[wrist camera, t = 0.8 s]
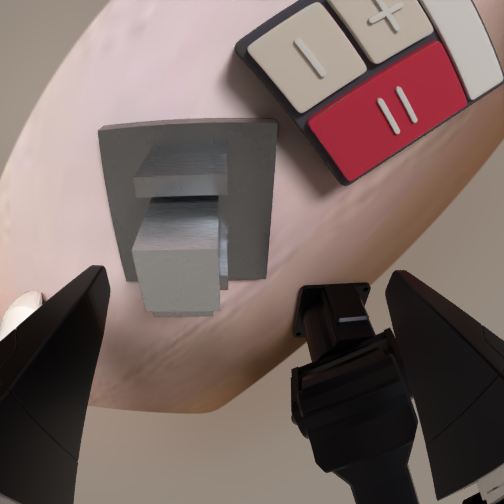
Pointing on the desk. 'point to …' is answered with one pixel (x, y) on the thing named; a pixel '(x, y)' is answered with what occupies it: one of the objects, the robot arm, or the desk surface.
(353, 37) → the button control pad
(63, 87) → the desk surface
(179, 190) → the stand base
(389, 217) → the desk surface
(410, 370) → the robot arm
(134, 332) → the desk surface
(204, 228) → the column
